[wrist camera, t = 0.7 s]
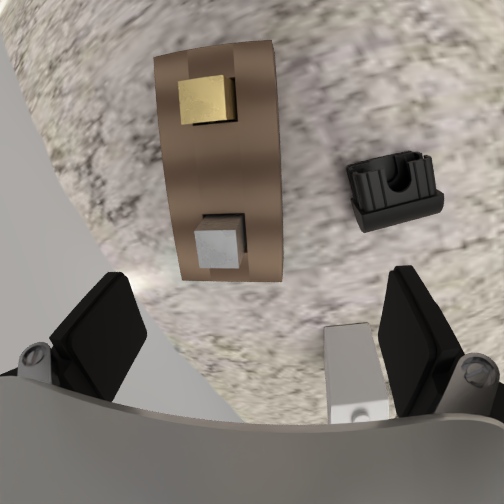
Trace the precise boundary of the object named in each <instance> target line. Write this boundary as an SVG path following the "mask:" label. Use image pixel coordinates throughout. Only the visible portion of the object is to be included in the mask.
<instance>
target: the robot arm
mask: <svg viewBox="0 0 504 504" xmlns="http://www.w3.org/2000/svg"><path fill="white" fill-rule="evenodd" d="M146 338H147V330H146V328H145V325H144V323H143V320H142V317H141V315H140V312H139V309H138V306H137V303H136V300H135V298H134V295H133V292H132V289H131V286H130V283H129V280H128V278H127V277H126V276H125V275H124V274H123V273H122V272H108V273H107V274H105V275H104V276H103V278H102V279H101V280H100V281H99V282H98V283H97V284H96V285H95V286H94V287H93V288H92V289H91V290H90V291H89V292H88V294H87V295H86V296H85V297H84V298H83V299H82V300H81V302H79V304H78V305H77V306H76V307H75V308H74V309H73V310H72V311H71V313H70V314H69V315H68V316H67V317H66V318H65V319H64V321H63V322H62V323H61V324H60V325H59V326H58V328H57V329H56V330H55V331H54V332H53V334H52V335H51V336H50V337H49V339H50V340H51V342H52V344H53V347H52V348H50V346H49V345H48V344H47V343H45V342H38V343H34V344H32V345H30V346H29V347H27V348H26V349H25V350H24V351H23V352H22V354H21V356H20V358H19V364H18V367H17V368H15V369H13V370H10V371H8V372H6V373H3V374H1V375H0V504H504V384H503V383H501V382H499V379H500V373H499V369H498V367H497V365H496V364H495V362H494V361H493V360H492V359H491V358H489V357H488V356H486V355H484V354H480V353H469V354H464V352H463V350H462V348H461V346H460V344H459V342H458V340H457V338H456V336H455V334H454V333H453V331H452V329H451V327H450V325H449V324H448V322H447V320H446V318H445V316H444V315H443V313H442V311H441V310H440V308H439V306H438V305H437V303H436V302H435V301H434V300H433V298H432V296H431V295H430V293H429V291H428V290H427V288H426V287H425V285H424V283H423V282H422V280H421V279H420V277H419V275H418V274H417V272H416V271H415V269H414V268H413V266H412V265H407V266H396V267H395V268H394V270H392V271H390V272H389V277H388V283H387V289H386V295H385V301H384V306H383V311H382V316H381V321H380V326H379V331H378V341H379V345H380V348H381V352H382V356H383V359H384V363H385V367H386V371H387V375H388V379H389V383H390V387H391V391H392V395H393V399H394V404H395V408H396V413H397V416H398V418H394V419H386V420H378V421H367V422H355V423H339V424H319V425H270V424H249V423H234V422H222V421H212V420H205V419H196V418H189V417H182V416H176V415H170V414H164V413H159V412H153V411H148V410H143V409H139V408H134V407H129V406H124V405H121V404H116V403H112V401H113V399H114V397H115V395H116V393H117V392H118V390H119V388H120V386H121V384H122V382H123V380H124V378H125V376H126V375H127V373H128V371H129V369H130V367H131V365H132V364H133V362H134V360H135V358H136V356H137V355H138V353H139V351H140V349H141V347H142V346H143V344H144V342H145V340H146Z"/></svg>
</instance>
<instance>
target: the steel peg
mask: <svg viewBox="0 0 504 504" xmlns="http://www.w3.org/2000/svg"><path fill="white" fill-rule="evenodd" d="M194 234H195V241H196V247H197V254H198V260H199V266H200V268H239V267H240V264H241V261H242V258H243V255H244V251H245V248H246V245H247V242H246V229H245V216H244V213H224V214H207V215H206V216H205V218H204V219H203V220H202V221H201V223H200V224H199V225H198V226H197V228H196V229H195V230H194Z"/></svg>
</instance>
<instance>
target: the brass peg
mask: <svg viewBox="0 0 504 504" xmlns="http://www.w3.org/2000/svg"><path fill="white" fill-rule="evenodd" d="M178 89H179V102H180V114H181V125H183V124H191V123H201V122H210V121H220V120H231V119H237V105H236V90H235V82H234V81H233V80H231V79H229V78H228V77H226V76H224V75H218V76H210V77H203V78H196V79H190V80H184V81H178Z"/></svg>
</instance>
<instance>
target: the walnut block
mask: <svg viewBox="0 0 504 504" xmlns="http://www.w3.org/2000/svg"><path fill="white" fill-rule="evenodd" d="M154 73H155V89H156V102H157V113H158V124H159V134H160V143H161V152H162V160H163V168H164V175H165V183H166V190H167V197H168V203H169V210H170V216H171V222H172V228H173V234H174V240H175V245H176V251H177V256H178V262H179V267H180V272H181V277H182V280H184V281H228V282H282V276H283V258H284V256H283V210H282V179H281V154H280V132H279V113H278V96H277V80H276V66H275V52H274V48H273V44H272V40H263V41H249V42H239V43H229V44H221V45H214V46H207V47H201V48H195V49H190V50H184V51H179V52H175V53H170V54H165V55H161V56H157V57H154ZM218 75H224V76H226V77H228V78H229V79H231V80H233V81H234V82H235V84H236V98H237V112H238V122H226V123H215V124H208V122H201V123H191V124H183V125H181V114H180V102H179V89H178V81H184V80H190V79H196V78H203V77H210V76H218ZM224 213H245V223H246V242H247V245H246V248H245V251H244V255H243V258H242V261H241V264H240V267H239V268H200V266H199V260H198V254H197V247H196V241H195V234H194V230H195V229H196V228H197V226H198V225H199V224H200V223H201V221H202V220H203V219H204V218H205V216H206V215H207V214H224Z"/></svg>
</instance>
